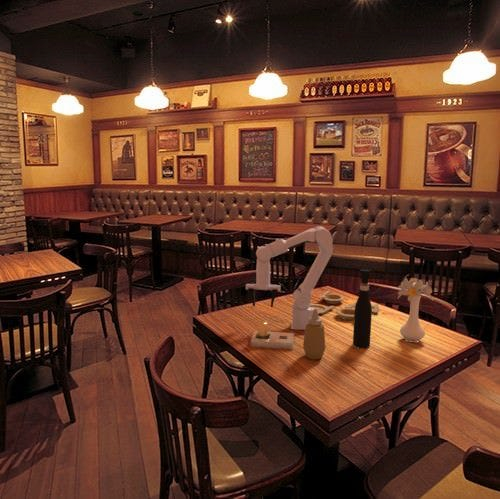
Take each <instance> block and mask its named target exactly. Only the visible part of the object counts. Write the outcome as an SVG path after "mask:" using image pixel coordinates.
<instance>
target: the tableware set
mask: <svg viewBox="0 0 500 499" xmlns="http://www.w3.org/2000/svg"><path fill="white" fill-rule="evenodd" d="M318 298H320V299H323V300H325V302H326V303H327V304H329V306H327V305H323V304H321V303H320V304H319V303H310V305H309V306H310V307H313V308H314V309H317V311H318V315H324V314H327V313H329V312H330V311H331V310H333V309H335V306H334V305H338V304H340V302H341V301H344V300H345V296H344V295H342V294H340V293H332V292H331V291H330V290H326V291H325V292H324V293H323V294H320V295H318ZM356 302H357V301H356ZM356 302H353V303H350V304H349V305H346V306H345V305H344V307H339V308H337V309H336V311H335V312H336V314H337V315H338V316H340V317H341V319H343V320H347V321H354V312H355V306H356ZM371 307H372V314H374V313H377V314H378V313H379V311H380V308H379V304H377V303H375V304H371Z"/></svg>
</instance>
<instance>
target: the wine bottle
mask: <svg viewBox="0 0 500 499" xmlns="http://www.w3.org/2000/svg"><path fill="white" fill-rule="evenodd" d="M371 273H372V272H371V269H369V268H361V269H359V279H361V282H360V285H359V290H358V298H357V300H356V306H355V312H354V320H353V333H352V334H353V335H352V346H353V345H354V346H353V347H355V346H356V347H355V348H357V347H359V348H358V349H361V348H365V349H368V348H367V347H369V346H370V347H371V335H372V334H371V332H372V314H373V313H372V307H371V305H372V303H371V302H372V301H371V298H370V288H369V287H370V285H369V280H371V275H372V274H371ZM370 347H369V348H370Z"/></svg>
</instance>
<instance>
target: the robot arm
mask: <svg viewBox="0 0 500 499" xmlns="http://www.w3.org/2000/svg"><path fill="white" fill-rule="evenodd" d="M333 239H334V238H333V236H332V234H331V232H330V231H329V230H328V229H326V228H325V227H323V225H321V226H320V225H317V226H315V227H312V228H309V229H307V230H304V231H302V232H301V233H298V234H296V235H294V236H292V237H289V238H287V239H283V238H276V239H275V241H272V242H271V243H269V244H268V243H265V244H264V245H261V246H259V247H258V248H257V249H256V252H255V256H256V258H257V259H256V269H255V270H256V271H255V272H256V279H255V281H256V283H246V284H245V290H247V293H248V295H249V296H250V299H251V303H252V307H256V290H257V291H258V290H261V291H271V293H270V308H273V307H274V303H275V298H276V296H277V295H278V292H280V291H281V285H280V284H279V285H278V284H272V283H271V263H270V262H271V261H270V260H271V258H274V257H277V256H279V255H282V254H285V253H286V252H288V249H289V248H291V247H294V246H296V245H299V244H302V243H304V242H307V241H308V242H311V243H315V242H316V245H317V247H318V250H319V252H318V254H317V256H316V257H315V260H314V262H313V263H312V265H311V267H310V268H309V270H308V271H307V272H308V273H307V274H306V276H305V278H304V280H303V281H302V283H301V284H299V286H298V287H297V289H296V290H294V291H293V293H292V299H293V301H294V302H293V304H292V309H291V310H292V316H291V318H292V321H291V324H290V329H291V330H302V331H305V328H306V325H307V324H308V323H309V318H310V317H312V315H313V311H314V308H313V307H310V306H309V305H310V304H311V298H312V296H313V291H314V288H315V287H316V285H317V283H318V281H319V279H320V277H321V275H322V274H323V272H324V270H325V268H326V267H327V264H328V262H329V261H330V259H331V257H332V256H333V252H334V247H333Z"/></svg>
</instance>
